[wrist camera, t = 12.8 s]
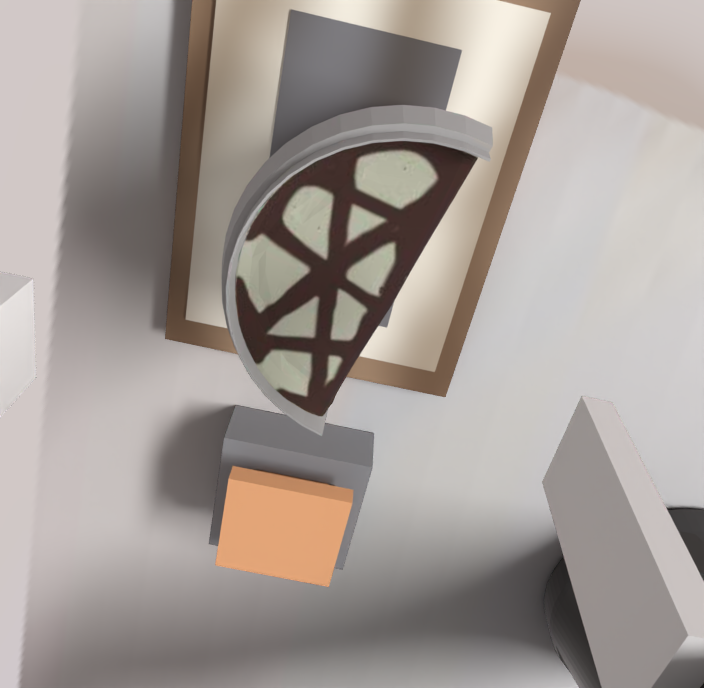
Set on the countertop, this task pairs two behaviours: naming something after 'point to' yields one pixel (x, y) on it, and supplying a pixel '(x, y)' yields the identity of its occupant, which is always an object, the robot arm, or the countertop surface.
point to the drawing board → (347, 96)
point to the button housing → (295, 459)
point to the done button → (282, 525)
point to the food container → (336, 243)
